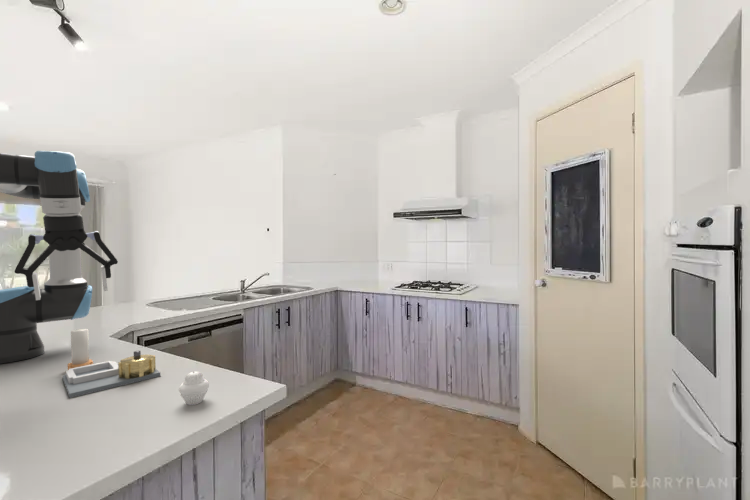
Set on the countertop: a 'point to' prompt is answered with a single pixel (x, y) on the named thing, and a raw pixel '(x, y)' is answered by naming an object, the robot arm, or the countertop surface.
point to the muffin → (194, 388)
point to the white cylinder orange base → (79, 348)
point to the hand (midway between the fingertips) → (73, 293)
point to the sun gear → (136, 365)
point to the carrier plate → (97, 378)
